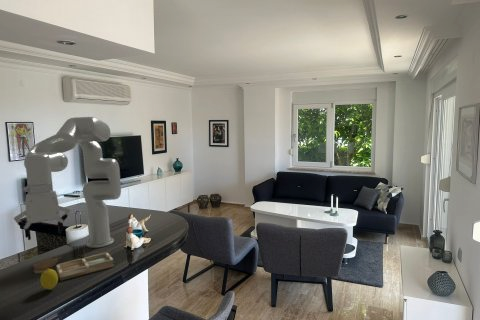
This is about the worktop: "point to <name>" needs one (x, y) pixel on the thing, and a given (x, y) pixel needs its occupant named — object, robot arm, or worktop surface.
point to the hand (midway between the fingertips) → (45, 236)
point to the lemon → (49, 279)
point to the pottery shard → (45, 264)
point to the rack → (84, 265)
